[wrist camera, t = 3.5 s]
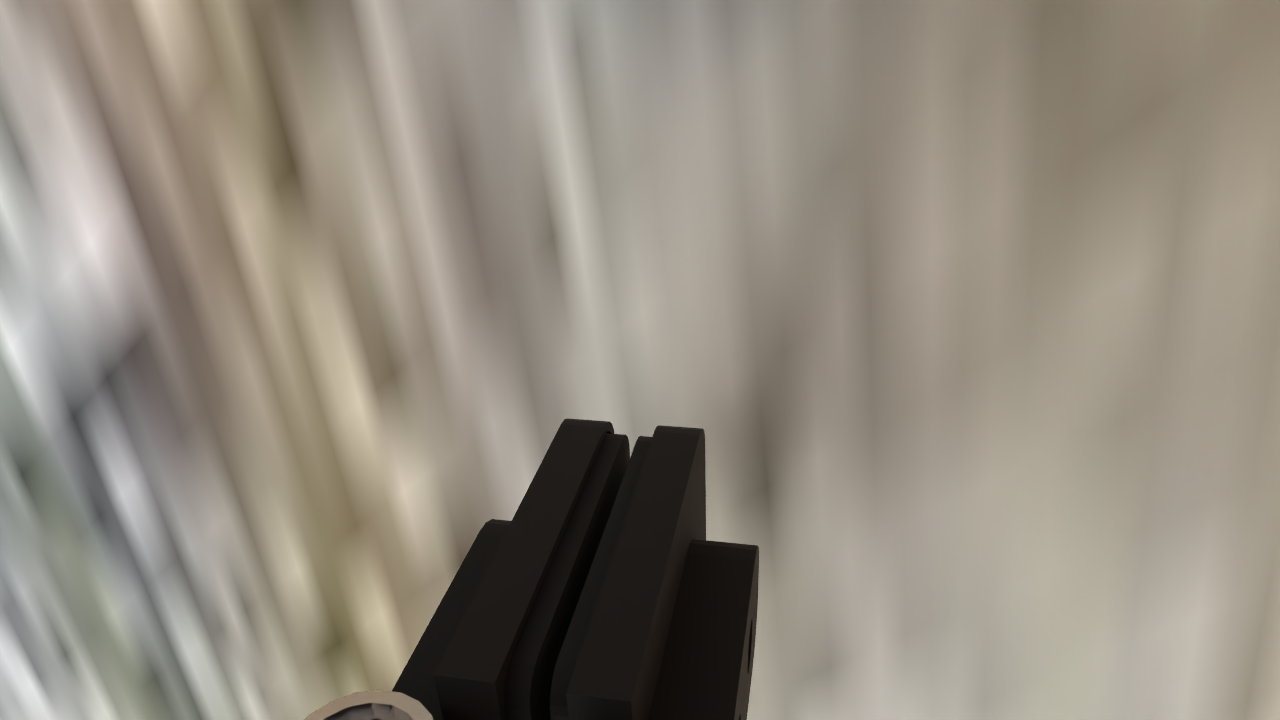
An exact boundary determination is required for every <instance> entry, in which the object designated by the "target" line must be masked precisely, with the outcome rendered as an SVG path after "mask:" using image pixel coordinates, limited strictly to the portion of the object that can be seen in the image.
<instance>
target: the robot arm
mask: <svg viewBox="0 0 1280 720" xmlns="http://www.w3.org/2000/svg"><path fill="white" fill-rule="evenodd" d="M758 573H759V547H758V546H756V545H746V544H736V543H726V542H716V541H706V490H705V434H704V430H703V429H699V428H686V427H672V426H657V427H656V429H655V432H654V435H653V437H645V436H640V437H638V439H637V441H636V444H635V447H634V450H633V452H632V455H631V458H630V451H629V440H628V437H627V436H626V435H620V434H614V429H613V426H612V424H611V422H606V421H593V420H579V419H565V420H564V421H563V422H562V424H561V425H560V427H559V429H558V431H557V433H556V435H555V437H554V439H553V441H552V443H551V445H550V447H549V449H548V451H547V453H546V455H545V457H544V459H543V461H542V463H541V465H540V467H539V469H538V471H537V473H536V475H535V476H534V478H533V480H532V482H531V484H530V486H529V488H528V490H527V492H526V494H525V496H524V498H523V500H522V502H521V504H520V506H519V508H518V510H517V512H516V514H515V516H514V518H513V520H512V521H505V520H495V519H492V520H490V521H488V522H486V523H485V525H484V526H483V528H482V529H481V530H480V532H479V534H478V535H477V537H476V539H475V541H474V543H473V545H472V546H471V548H470V550H469V552H468V554H467V555H466V557H465V559H464V561H463V563H462V565H461V566H460V568H459V570H458V572H457V574H456V575H455V577H454V579H453V581H452V583H451V585H450V586H449V588H448V590H447V592H446V594H445V595H444V597H443V599H442V601H441V603H440V605H439V606H438V608H437V610H436V612H435V614H434V615H433V617H432V619H431V621H430V623H429V625H428V626H427V628H426V630H425V632H424V634H423V635H422V637H421V639H420V641H419V643H418V645H417V646H416V648H415V650H414V652H413V654H412V655H411V657H410V659H409V661H408V663H407V665H406V666H405V668H404V670H403V672H402V674H401V675H400V677H399V679H398V681H397V683H396V685H395V686H394V688H393V690H392V691H385V690H373V691H365V692H356V693H353V694H350V695H347V696H345V697H342V698H339V699H336V700H333V701H331V702H329V703H328V704H326V705H324V706H323V707H321V708H319V709H318V710H316V711H315V712H313V713H311V714H310V715H308V716H307V717H306V718H305V719H304V720H746V719H747V711H748V702H749V694H750V685H751V676H752V668H753V658H754V647H755V635H756V621H757V603H758Z"/></svg>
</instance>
